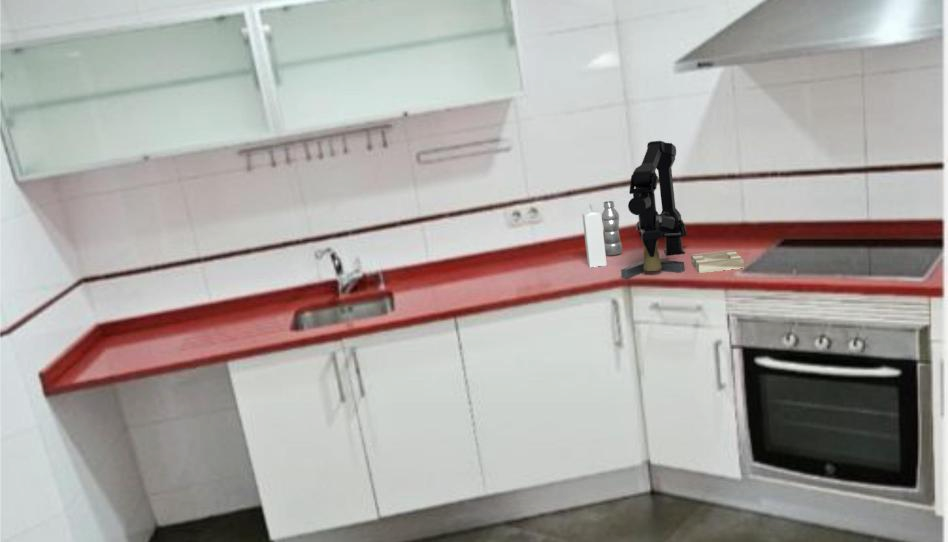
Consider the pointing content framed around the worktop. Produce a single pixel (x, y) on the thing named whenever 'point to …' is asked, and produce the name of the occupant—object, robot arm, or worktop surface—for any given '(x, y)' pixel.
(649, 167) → the robot arm
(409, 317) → the worktop surface
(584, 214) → the milk
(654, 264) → the cork
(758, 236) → the worktop surface
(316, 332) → the worktop surface
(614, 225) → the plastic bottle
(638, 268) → the v-block
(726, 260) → the cream wooden slatted block
